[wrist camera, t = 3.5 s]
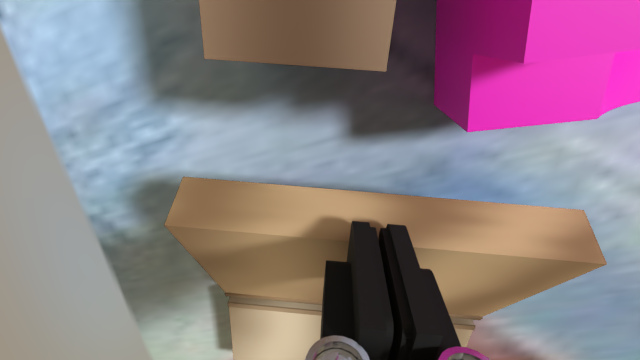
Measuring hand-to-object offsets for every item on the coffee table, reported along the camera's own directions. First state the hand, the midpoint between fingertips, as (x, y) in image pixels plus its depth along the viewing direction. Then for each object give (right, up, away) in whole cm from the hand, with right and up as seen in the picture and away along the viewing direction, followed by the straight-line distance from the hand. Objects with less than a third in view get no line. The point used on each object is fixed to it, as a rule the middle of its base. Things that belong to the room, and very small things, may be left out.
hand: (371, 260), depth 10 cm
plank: (0, 0, +4) cm, 4 cm away
